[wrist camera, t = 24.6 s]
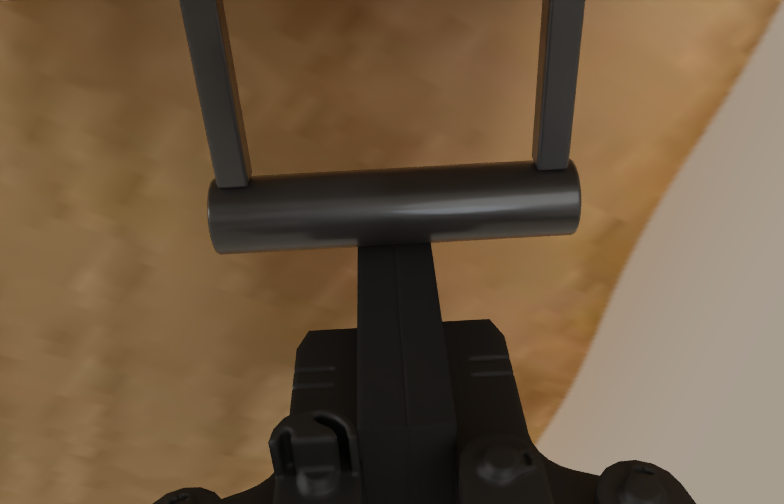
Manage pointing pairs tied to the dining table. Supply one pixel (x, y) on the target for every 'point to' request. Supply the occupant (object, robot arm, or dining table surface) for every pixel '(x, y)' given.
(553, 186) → the drawer
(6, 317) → the dining table surface
